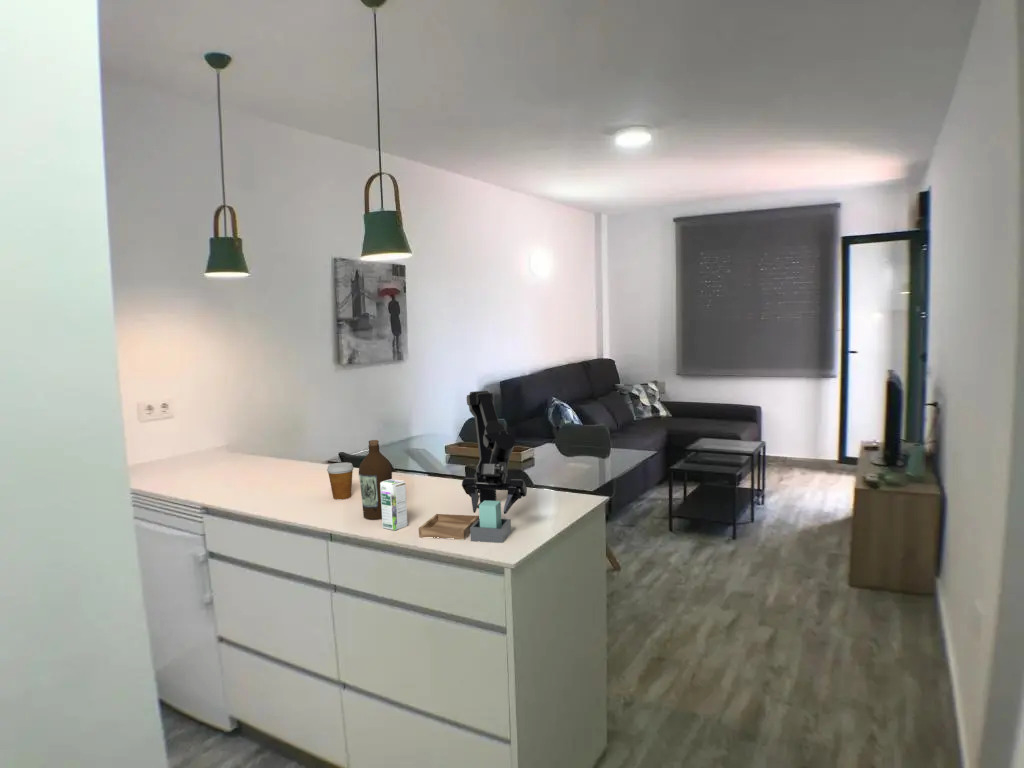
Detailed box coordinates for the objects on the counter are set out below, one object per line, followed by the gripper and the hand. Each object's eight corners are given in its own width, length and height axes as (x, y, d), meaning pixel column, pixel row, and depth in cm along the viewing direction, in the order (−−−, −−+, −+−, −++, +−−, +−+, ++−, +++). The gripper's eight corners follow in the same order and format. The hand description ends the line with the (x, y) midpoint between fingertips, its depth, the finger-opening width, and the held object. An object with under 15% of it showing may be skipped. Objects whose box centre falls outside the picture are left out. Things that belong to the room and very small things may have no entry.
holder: (481, 530, 201) (480, 517, 201) (511, 532, 199) (510, 518, 198) (470, 541, 192) (470, 527, 192) (502, 542, 190) (501, 529, 189)
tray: (437, 522, 211) (436, 513, 210) (479, 524, 207) (479, 515, 206) (419, 537, 197) (418, 528, 197) (464, 539, 193) (463, 530, 193)
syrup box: (381, 528, 207) (378, 482, 206) (395, 522, 212) (392, 478, 211) (395, 531, 204) (392, 484, 202) (408, 525, 209) (405, 479, 207)
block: (485, 533, 198) (484, 500, 197) (502, 534, 197) (500, 501, 196) (480, 539, 194) (478, 505, 193) (497, 540, 192) (495, 505, 191)
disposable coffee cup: (323, 498, 245) (321, 465, 244) (346, 492, 252) (344, 461, 251) (337, 502, 239) (335, 469, 237) (360, 496, 245) (358, 464, 244)
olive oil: (376, 509, 228) (371, 436, 225) (401, 512, 223) (396, 438, 220) (354, 518, 219) (349, 442, 216) (380, 522, 213) (375, 444, 211)
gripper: (462, 451, 199) (450, 497, 190) (522, 452, 194) (514, 499, 185) (472, 471, 208) (461, 516, 198) (530, 472, 203) (522, 519, 193)
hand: (489, 512), depth 193 cm, fingers open, 9 cm apart
